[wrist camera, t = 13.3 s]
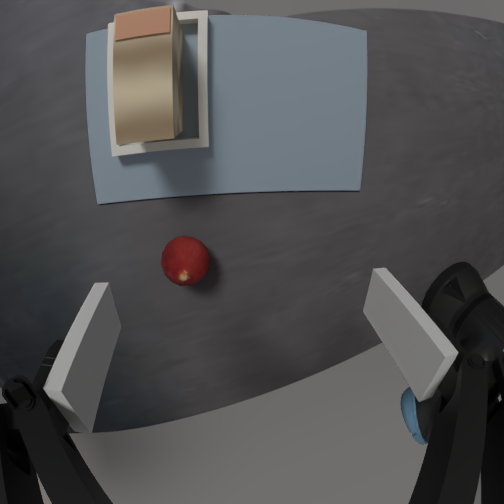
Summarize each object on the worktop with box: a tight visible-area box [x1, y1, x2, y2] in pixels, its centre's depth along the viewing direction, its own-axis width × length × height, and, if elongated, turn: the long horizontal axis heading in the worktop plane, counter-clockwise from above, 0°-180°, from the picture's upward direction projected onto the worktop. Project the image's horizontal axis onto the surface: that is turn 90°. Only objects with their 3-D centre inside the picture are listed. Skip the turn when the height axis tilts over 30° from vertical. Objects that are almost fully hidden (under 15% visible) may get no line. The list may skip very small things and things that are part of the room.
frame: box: [107, 10, 209, 157], centre depth 27 cm, size 11×16×2 cm
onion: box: [161, 236, 210, 286], centre depth 35 cm, size 6×6×8 cm
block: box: [113, 5, 184, 145], centre depth 24 cm, size 12×5×10 cm, turn 0°
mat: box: [86, 15, 367, 204], centre depth 31 cm, size 34×22×1 cm, turn 90°
